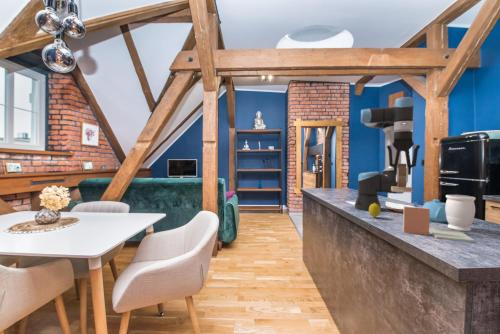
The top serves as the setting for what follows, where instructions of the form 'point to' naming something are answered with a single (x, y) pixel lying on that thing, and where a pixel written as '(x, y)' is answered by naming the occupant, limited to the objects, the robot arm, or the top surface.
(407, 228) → the tile
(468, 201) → the jar
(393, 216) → the top surface
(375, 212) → the lemon
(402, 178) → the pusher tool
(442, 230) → the tool mat
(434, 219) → the teapot
